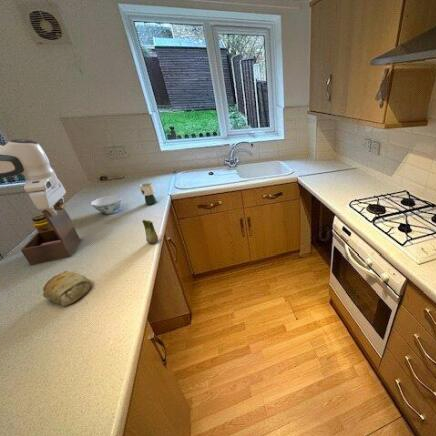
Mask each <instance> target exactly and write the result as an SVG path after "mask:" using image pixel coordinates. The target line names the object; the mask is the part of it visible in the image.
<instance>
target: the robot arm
mask: <svg viewBox="0 0 436 436" xmlns="http://www.w3.org/2000/svg"><path fill="white" fill-rule="evenodd" d="M18 175H23V176H24V178H25V184H24V186H23V189H24V191H25V192H26V193H28V195H29V198H30V200H31V202H32V203H33V205H34V207H35V208H36V209H38V211H43V210H47V211H48V212H49V213H50V214H51V216H56V215H57V214H58V213H57V211H55V210H54V209H53V208H54V207H53V205H54V204H55V203H56V202H57V201H58V205H60V204H62V203H65V199H64V196H65V195H66V193H67V191H66V188H65V187H64V185H63V183H62V182H61V180H60V179H59V178H58V176H57V174H56V172H55V170H54V169H53V167H52V166H51V163H50V159H49V158H48V156H47V154H46V152H45V150H44V149H43V147H42V146H41V145H40V144H39V143H38V142H37V141H35V140H31V139H24V138H23V139H22V138H21V139H20V138H19V139H10V140H8V142H7V143H5V144H2V143H0V179H7V178H12V177H15V176H18Z"/></svg>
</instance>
